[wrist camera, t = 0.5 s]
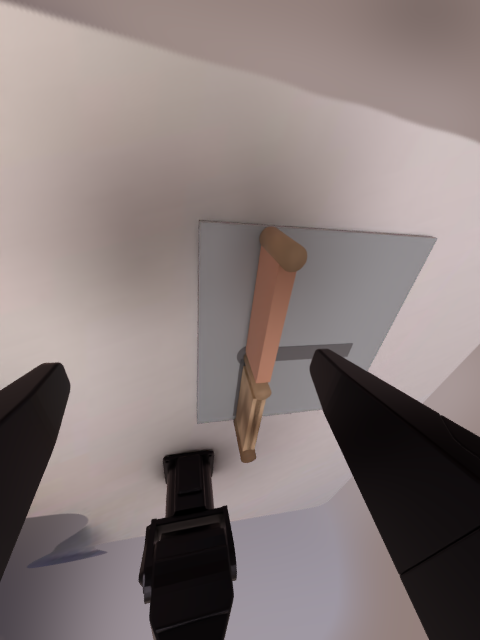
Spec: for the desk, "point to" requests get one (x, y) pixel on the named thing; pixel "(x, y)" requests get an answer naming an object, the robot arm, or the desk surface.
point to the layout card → (297, 308)
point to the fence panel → (270, 305)
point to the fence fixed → (247, 419)
